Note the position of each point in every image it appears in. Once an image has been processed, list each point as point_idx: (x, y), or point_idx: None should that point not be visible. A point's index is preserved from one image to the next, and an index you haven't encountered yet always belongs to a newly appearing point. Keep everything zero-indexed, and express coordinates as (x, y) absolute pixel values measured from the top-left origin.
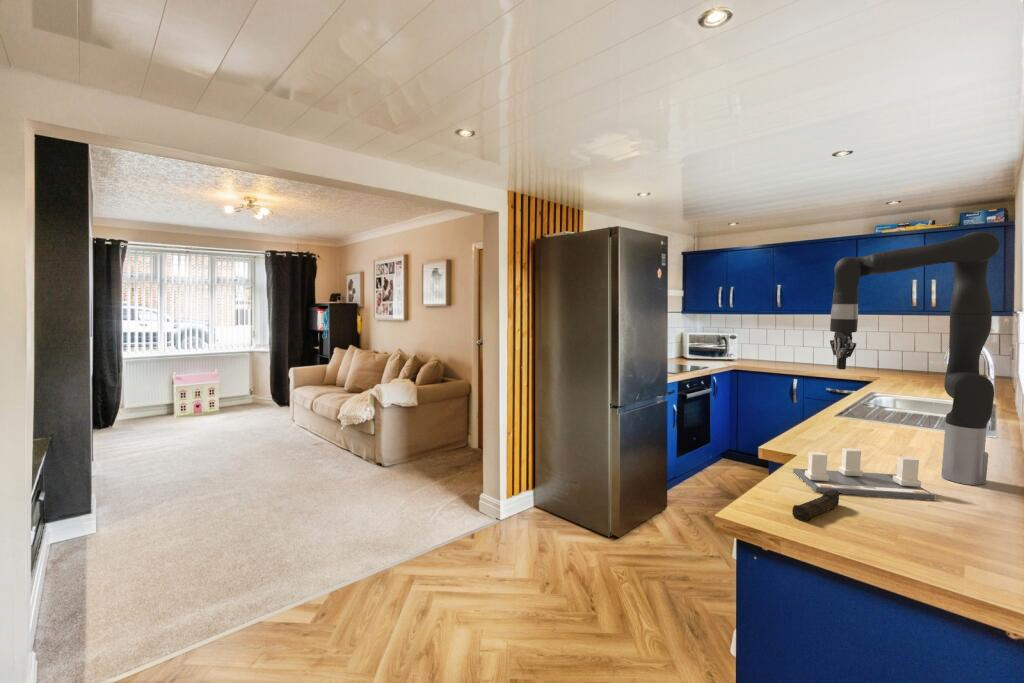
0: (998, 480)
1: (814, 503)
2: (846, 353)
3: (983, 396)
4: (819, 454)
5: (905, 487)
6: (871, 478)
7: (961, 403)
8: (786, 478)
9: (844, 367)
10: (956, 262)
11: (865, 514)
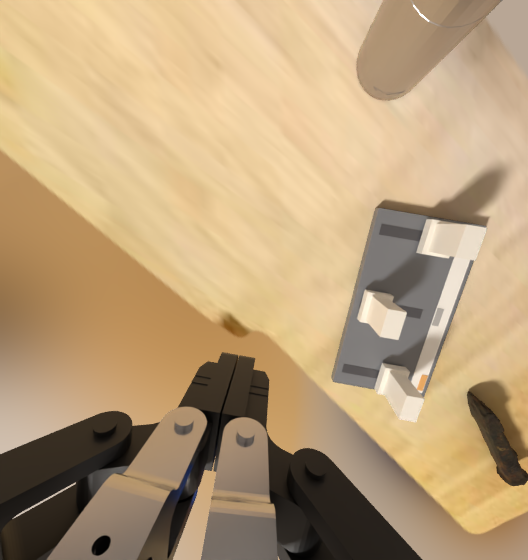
0: None
1: (514, 461)
2: (317, 535)
3: None
4: (418, 410)
5: None
6: (394, 279)
7: None
8: (355, 400)
9: (264, 379)
10: None
11: (505, 376)
